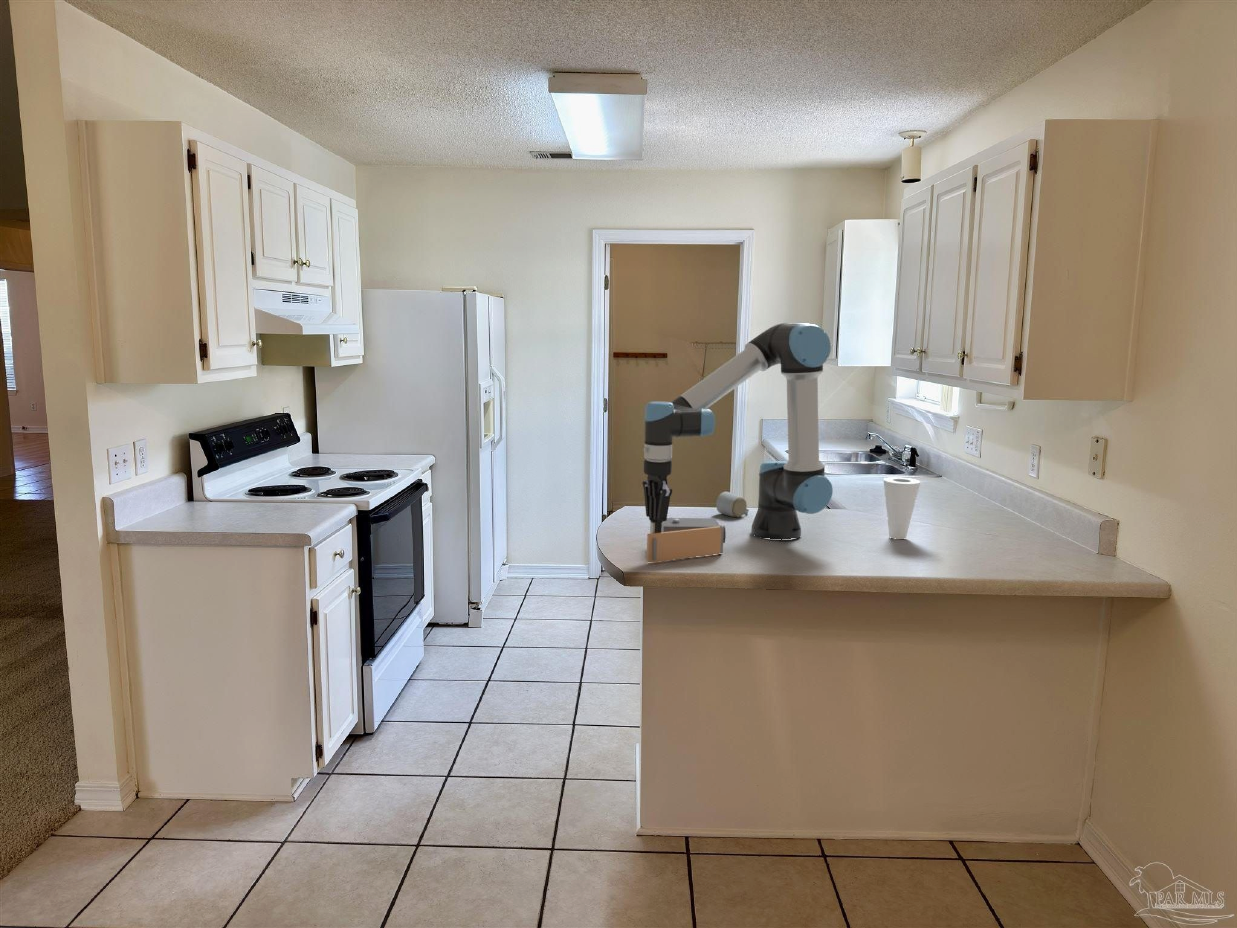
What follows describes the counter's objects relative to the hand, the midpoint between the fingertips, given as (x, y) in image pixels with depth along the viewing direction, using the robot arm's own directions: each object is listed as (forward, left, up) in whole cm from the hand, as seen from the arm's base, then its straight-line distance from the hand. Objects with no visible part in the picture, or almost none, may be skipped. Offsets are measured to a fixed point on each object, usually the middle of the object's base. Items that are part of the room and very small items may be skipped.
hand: (655, 544), depth 228 cm
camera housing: (-11, -11, -5) cm, 16 cm away
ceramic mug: (-31, -54, -5) cm, 63 cm away
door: (-9, -1, -4) cm, 10 cm away
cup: (-77, -25, -5) cm, 81 cm away
